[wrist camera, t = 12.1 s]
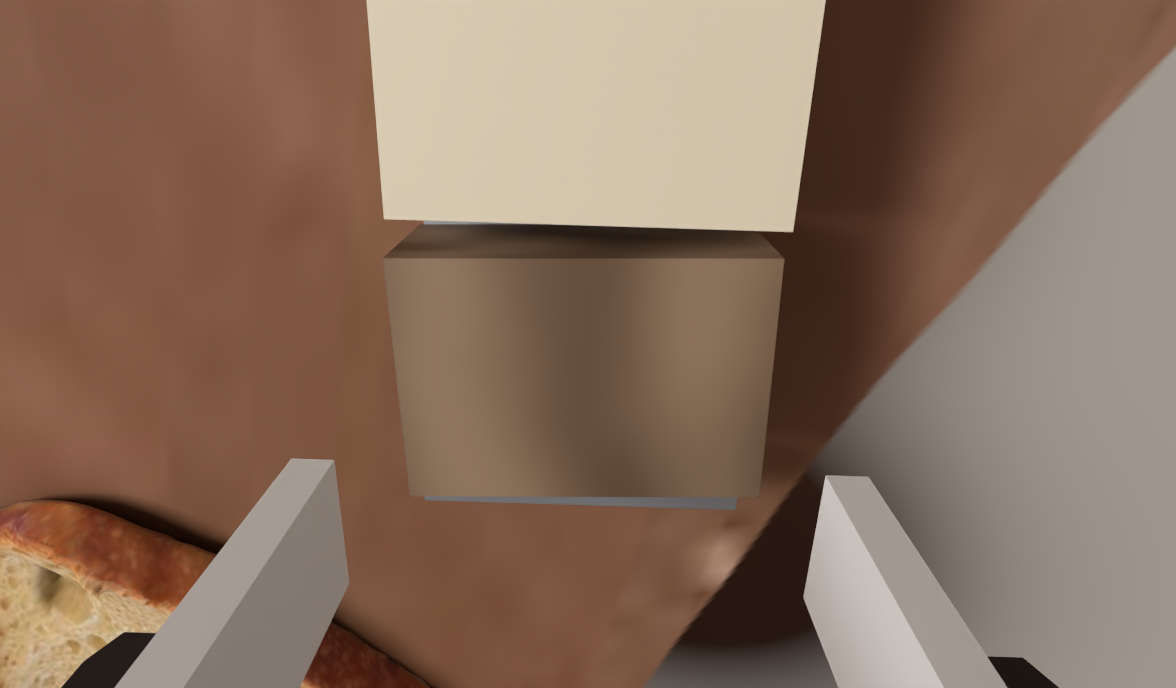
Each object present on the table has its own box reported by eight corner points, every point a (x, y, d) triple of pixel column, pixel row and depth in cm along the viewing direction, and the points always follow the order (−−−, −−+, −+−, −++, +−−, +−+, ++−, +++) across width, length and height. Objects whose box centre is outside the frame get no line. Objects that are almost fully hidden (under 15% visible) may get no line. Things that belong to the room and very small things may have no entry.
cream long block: (443, 451, 25) (409, 539, 21) (396, -415, 16) (318, -602, 12) (720, 460, 25) (748, 550, 21) (820, -400, 16) (907, -583, 12)
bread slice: (495, 777, 32) (483, 864, 29) (125, 813, 33) (71, 901, 30) (398, 439, 26) (367, 498, 22) (-59, 498, 27) (-157, 564, 23)
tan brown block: (439, 428, 24) (409, 496, 20) (420, 224, 21) (382, 258, 17) (733, 429, 24) (759, 497, 20) (751, 224, 21) (784, 258, 17)
